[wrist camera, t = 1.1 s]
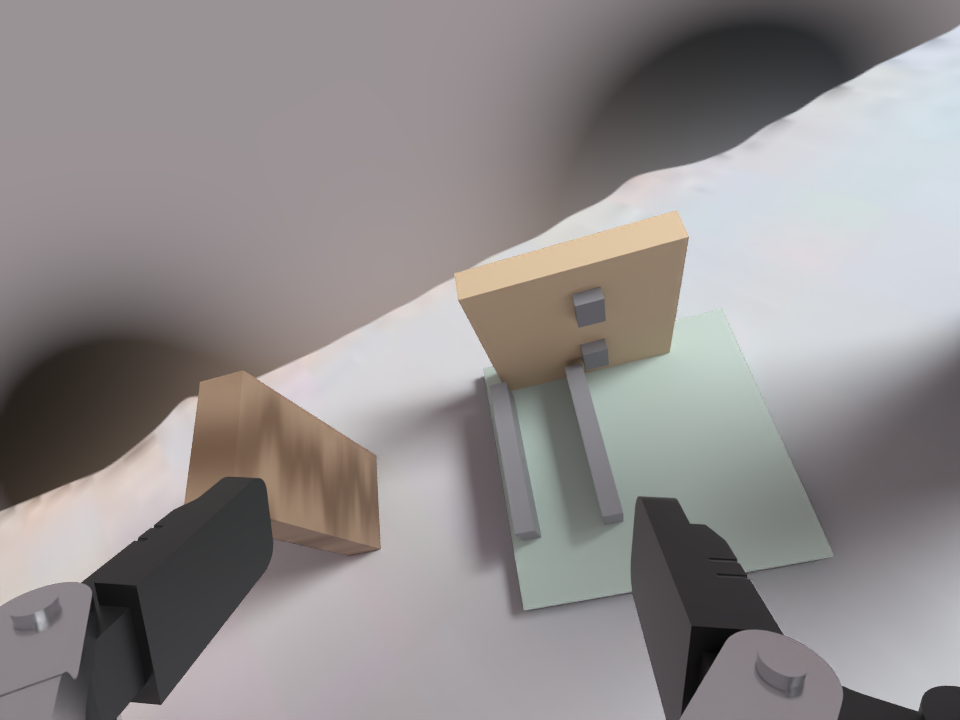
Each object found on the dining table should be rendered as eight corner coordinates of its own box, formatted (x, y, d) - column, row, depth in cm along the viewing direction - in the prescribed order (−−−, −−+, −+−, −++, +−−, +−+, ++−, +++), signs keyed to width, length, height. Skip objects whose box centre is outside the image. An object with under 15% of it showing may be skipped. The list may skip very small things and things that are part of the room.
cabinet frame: (827, 558, 30) (965, 518, 18) (527, 610, 32) (467, 606, 20) (719, 316, 38) (763, 175, 26) (486, 375, 41) (427, 272, 28)
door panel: (380, 548, 37) (231, 508, 23) (335, 558, 37) (162, 523, 23) (375, 455, 40) (242, 370, 26) (334, 465, 40) (182, 386, 27)
